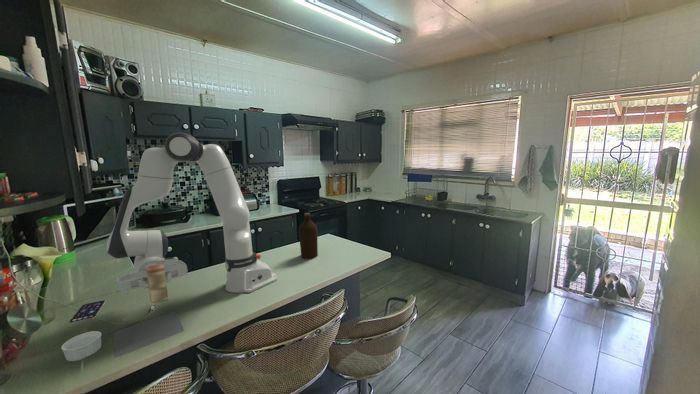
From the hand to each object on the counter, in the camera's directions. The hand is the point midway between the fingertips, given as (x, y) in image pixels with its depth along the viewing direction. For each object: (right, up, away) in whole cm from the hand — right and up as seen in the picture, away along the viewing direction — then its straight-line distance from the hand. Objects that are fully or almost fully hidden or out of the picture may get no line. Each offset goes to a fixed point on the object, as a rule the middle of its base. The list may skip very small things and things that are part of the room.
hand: (157, 283), depth 94 cm
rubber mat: (-3, -17, +1) cm, 17 cm away
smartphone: (-38, -16, +16) cm, 44 cm away
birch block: (-1, -6, +2) cm, 7 cm away
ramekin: (-17, -19, -8) cm, 27 cm away
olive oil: (+41, -5, +67) cm, 79 cm away
